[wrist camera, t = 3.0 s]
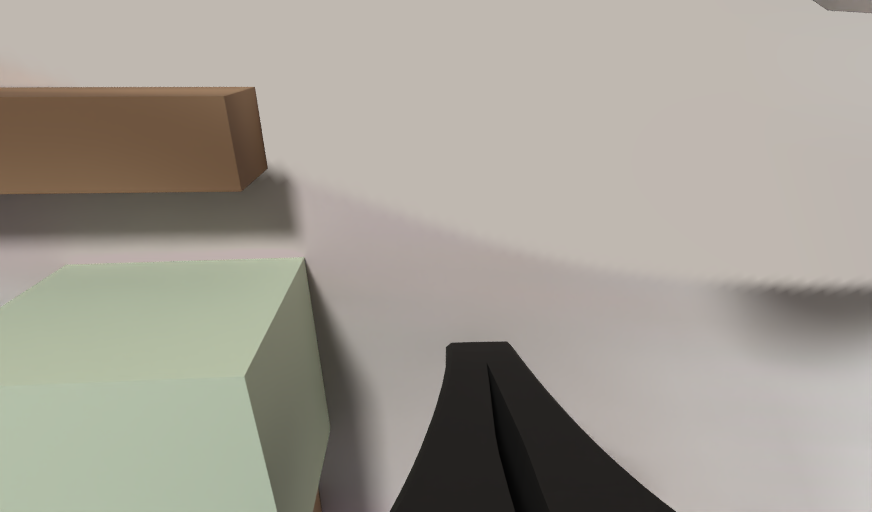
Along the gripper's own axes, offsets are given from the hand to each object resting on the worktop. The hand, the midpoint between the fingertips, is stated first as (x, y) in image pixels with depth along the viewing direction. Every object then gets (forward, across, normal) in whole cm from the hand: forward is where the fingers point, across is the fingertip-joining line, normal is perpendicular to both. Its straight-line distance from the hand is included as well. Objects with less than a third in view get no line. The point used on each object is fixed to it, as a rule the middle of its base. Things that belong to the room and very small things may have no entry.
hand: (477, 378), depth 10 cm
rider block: (+1, +6, 0) cm, 6 cm away
